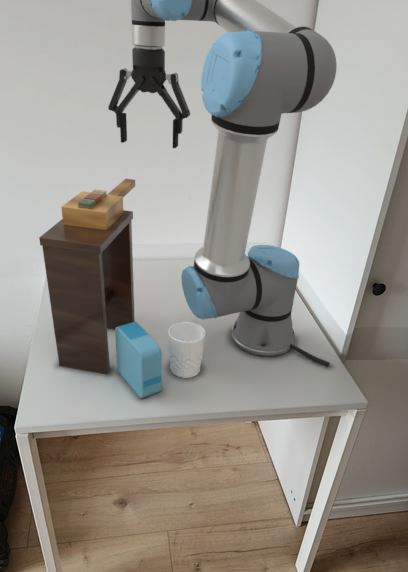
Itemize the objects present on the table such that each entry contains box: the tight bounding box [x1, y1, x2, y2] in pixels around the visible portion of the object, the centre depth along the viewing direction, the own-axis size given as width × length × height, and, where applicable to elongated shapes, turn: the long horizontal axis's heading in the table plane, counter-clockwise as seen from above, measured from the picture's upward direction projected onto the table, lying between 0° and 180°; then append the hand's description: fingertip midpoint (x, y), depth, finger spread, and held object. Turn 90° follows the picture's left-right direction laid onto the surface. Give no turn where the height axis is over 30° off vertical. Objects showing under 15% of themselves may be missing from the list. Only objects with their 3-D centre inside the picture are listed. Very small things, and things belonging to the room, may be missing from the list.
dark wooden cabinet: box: [38, 209, 136, 375], centre depth 109 cm, size 19×12×30 cm, turn 168°
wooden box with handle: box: [60, 178, 136, 230], centre depth 108 cm, size 28×9×5 cm, turn 168°
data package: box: [114, 321, 162, 399], centre depth 104 cm, size 12×4×12 cm, turn 34°
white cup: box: [167, 321, 206, 379], centre depth 109 cm, size 8×8×10 cm
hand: (149, 144), depth 128 cm, fingers open, 13 cm apart
